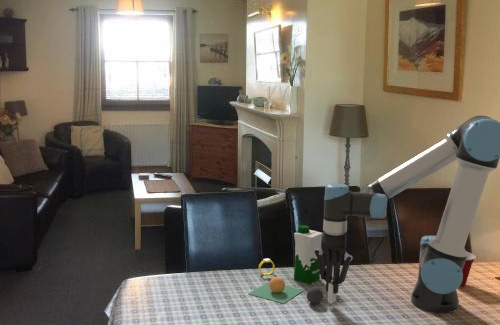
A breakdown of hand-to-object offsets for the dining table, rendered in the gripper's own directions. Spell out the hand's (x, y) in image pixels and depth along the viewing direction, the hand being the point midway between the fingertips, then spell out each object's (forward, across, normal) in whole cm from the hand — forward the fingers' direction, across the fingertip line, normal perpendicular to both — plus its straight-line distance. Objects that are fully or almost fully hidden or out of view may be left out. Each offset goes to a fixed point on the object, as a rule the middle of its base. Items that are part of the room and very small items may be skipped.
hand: (331, 301), depth 184 cm
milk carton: (+2, +18, -17) cm, 25 cm away
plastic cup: (+2, -29, -46) cm, 54 cm away
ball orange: (-1, +21, 0) cm, 21 cm away
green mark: (+2, +21, 0) cm, 21 cm away
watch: (+2, +33, -13) cm, 36 cm away
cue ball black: (-1, +6, 0) cm, 6 cm away
